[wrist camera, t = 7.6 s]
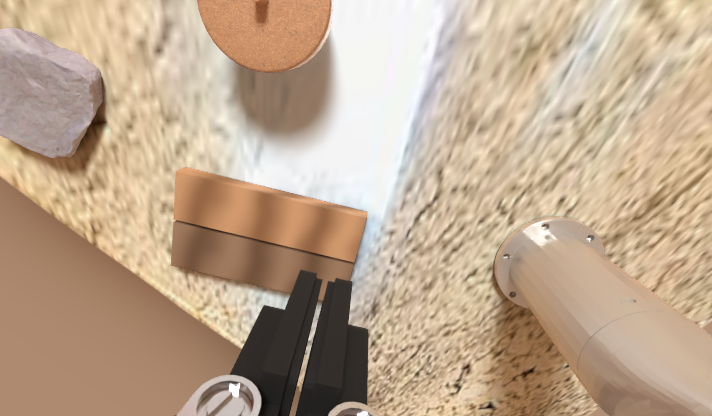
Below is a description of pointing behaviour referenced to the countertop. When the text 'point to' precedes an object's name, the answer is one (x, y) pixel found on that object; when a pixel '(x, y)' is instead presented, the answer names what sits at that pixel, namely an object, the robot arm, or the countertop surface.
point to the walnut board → (250, 258)
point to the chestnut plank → (268, 214)
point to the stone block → (45, 94)
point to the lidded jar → (268, 30)
